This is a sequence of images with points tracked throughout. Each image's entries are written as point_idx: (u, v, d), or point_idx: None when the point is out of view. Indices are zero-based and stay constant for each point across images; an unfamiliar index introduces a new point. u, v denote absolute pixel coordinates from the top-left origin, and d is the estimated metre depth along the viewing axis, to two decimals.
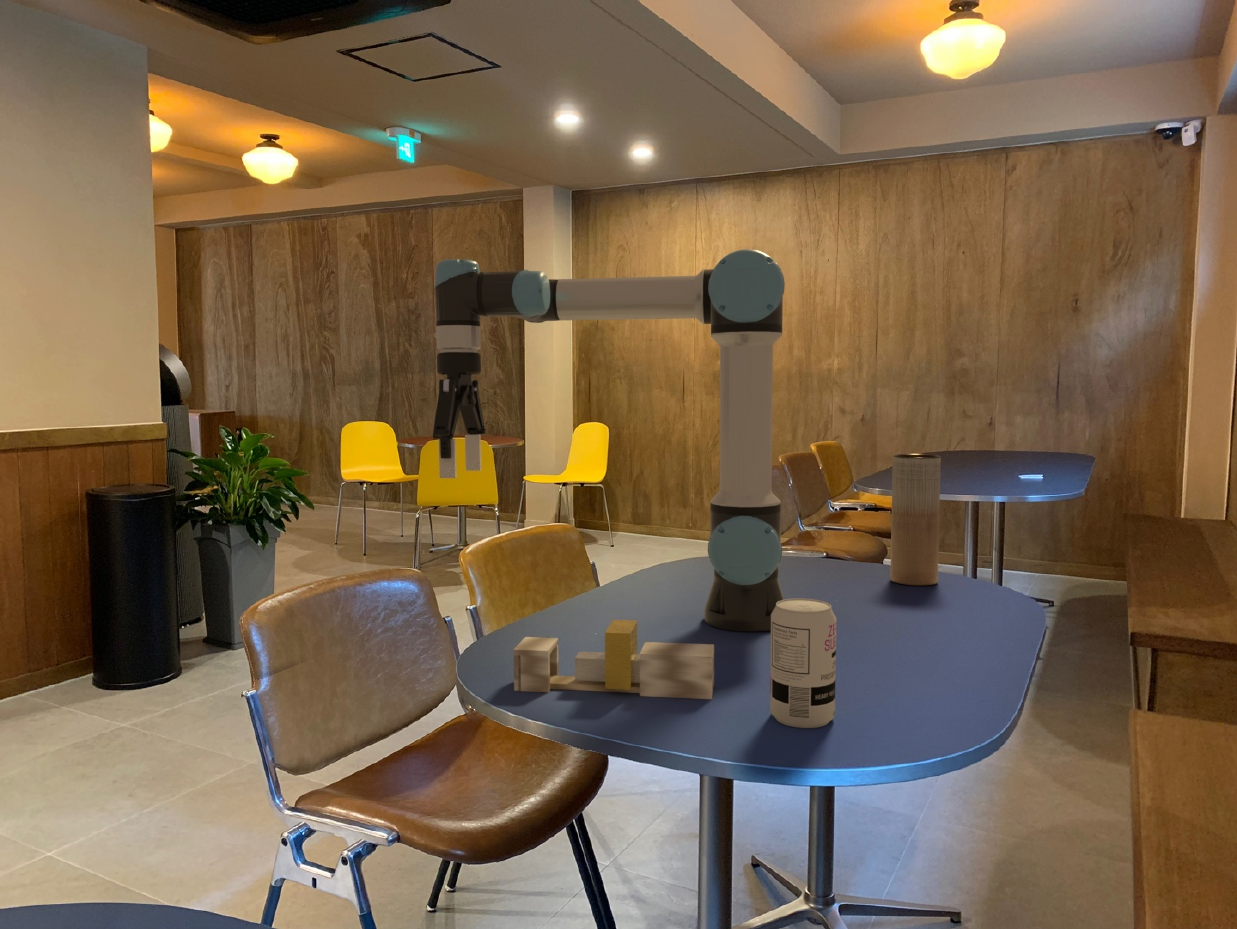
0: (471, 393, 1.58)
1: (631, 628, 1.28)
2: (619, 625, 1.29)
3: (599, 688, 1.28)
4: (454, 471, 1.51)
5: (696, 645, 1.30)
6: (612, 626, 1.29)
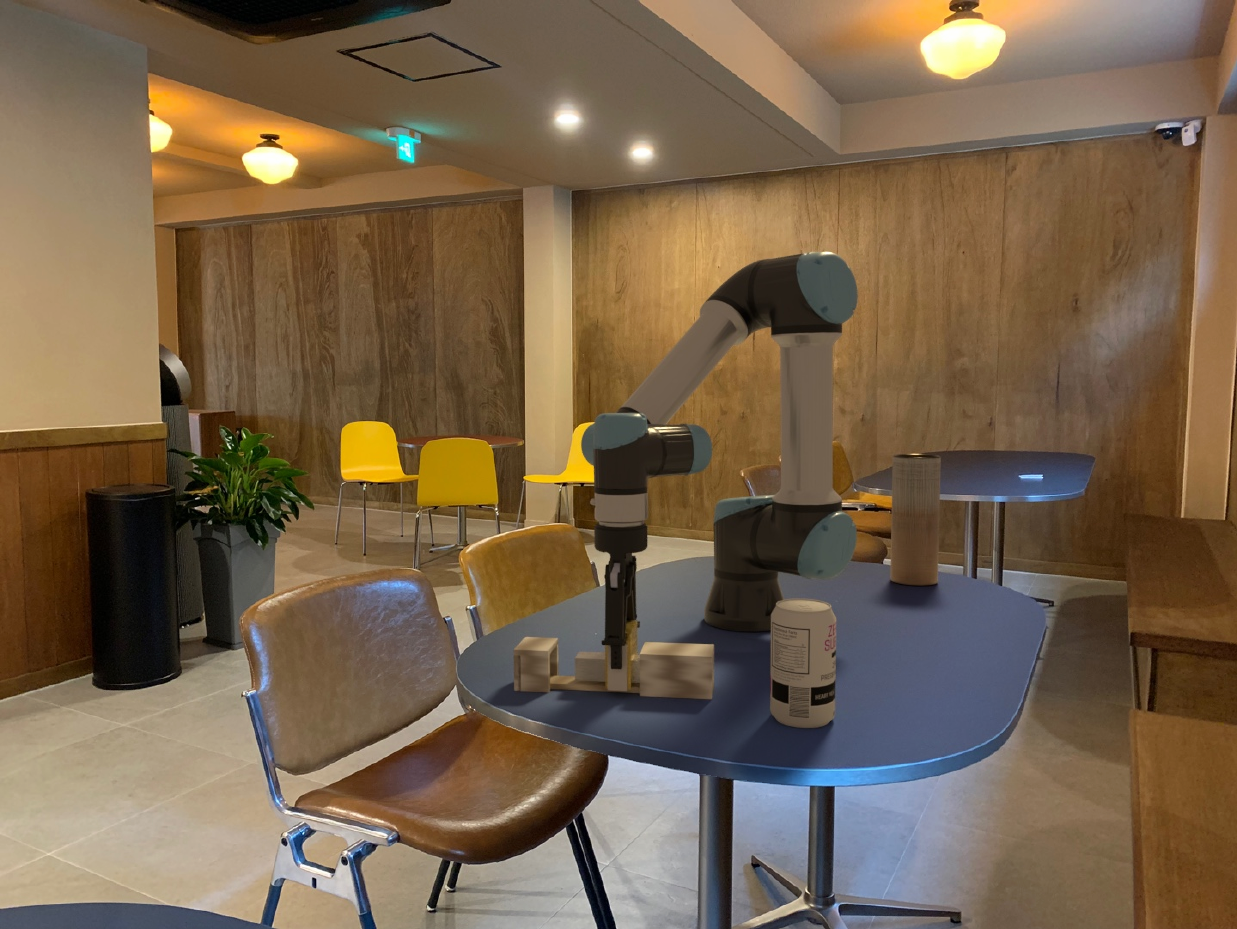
0: (634, 571, 1.29)
1: (631, 628, 1.28)
2: None
3: (599, 688, 1.28)
4: (626, 683, 1.25)
5: (696, 645, 1.30)
6: None
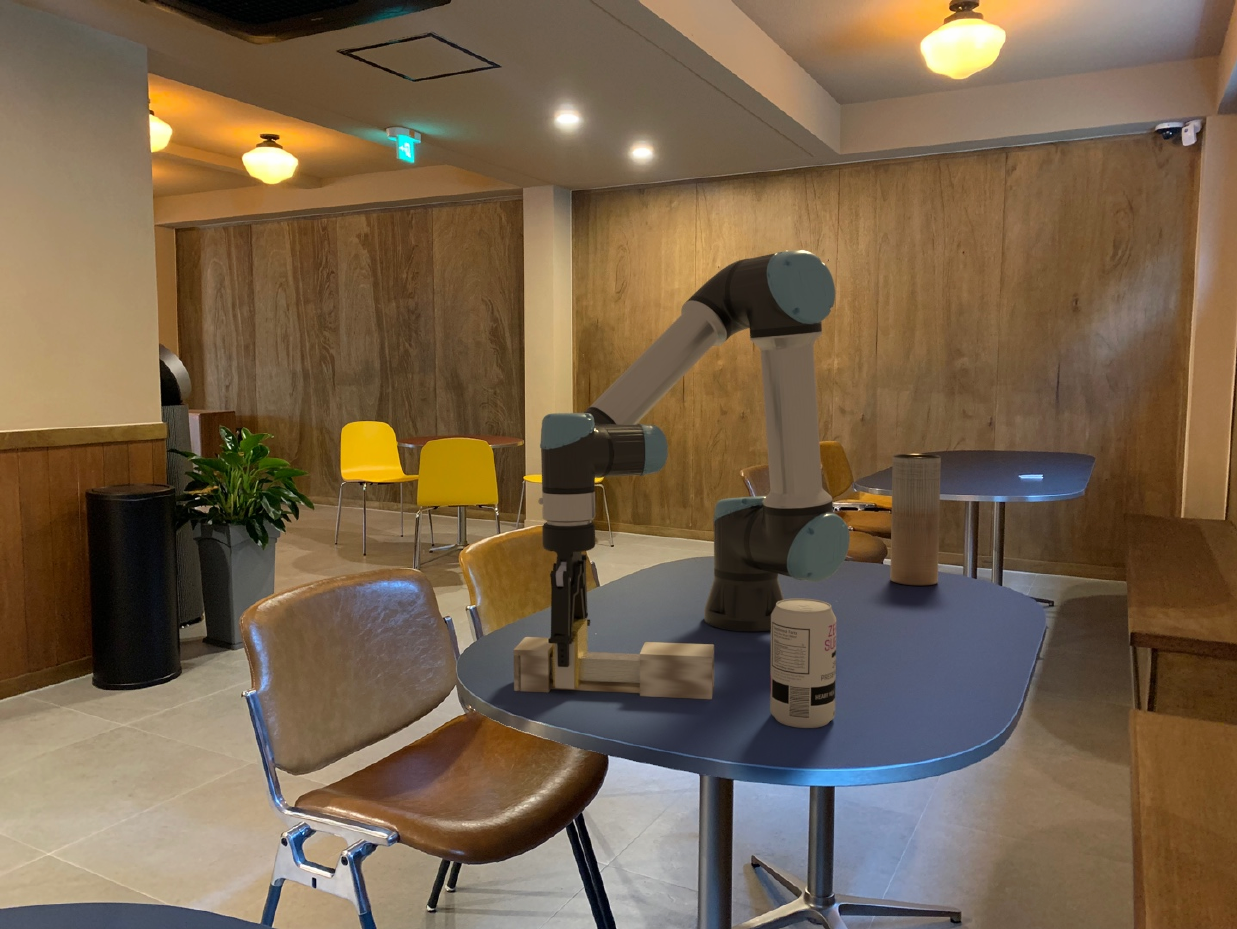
0: (582, 569, 1.30)
1: (579, 626, 1.29)
2: None
3: (599, 688, 1.28)
4: (573, 680, 1.26)
5: (696, 645, 1.30)
6: None
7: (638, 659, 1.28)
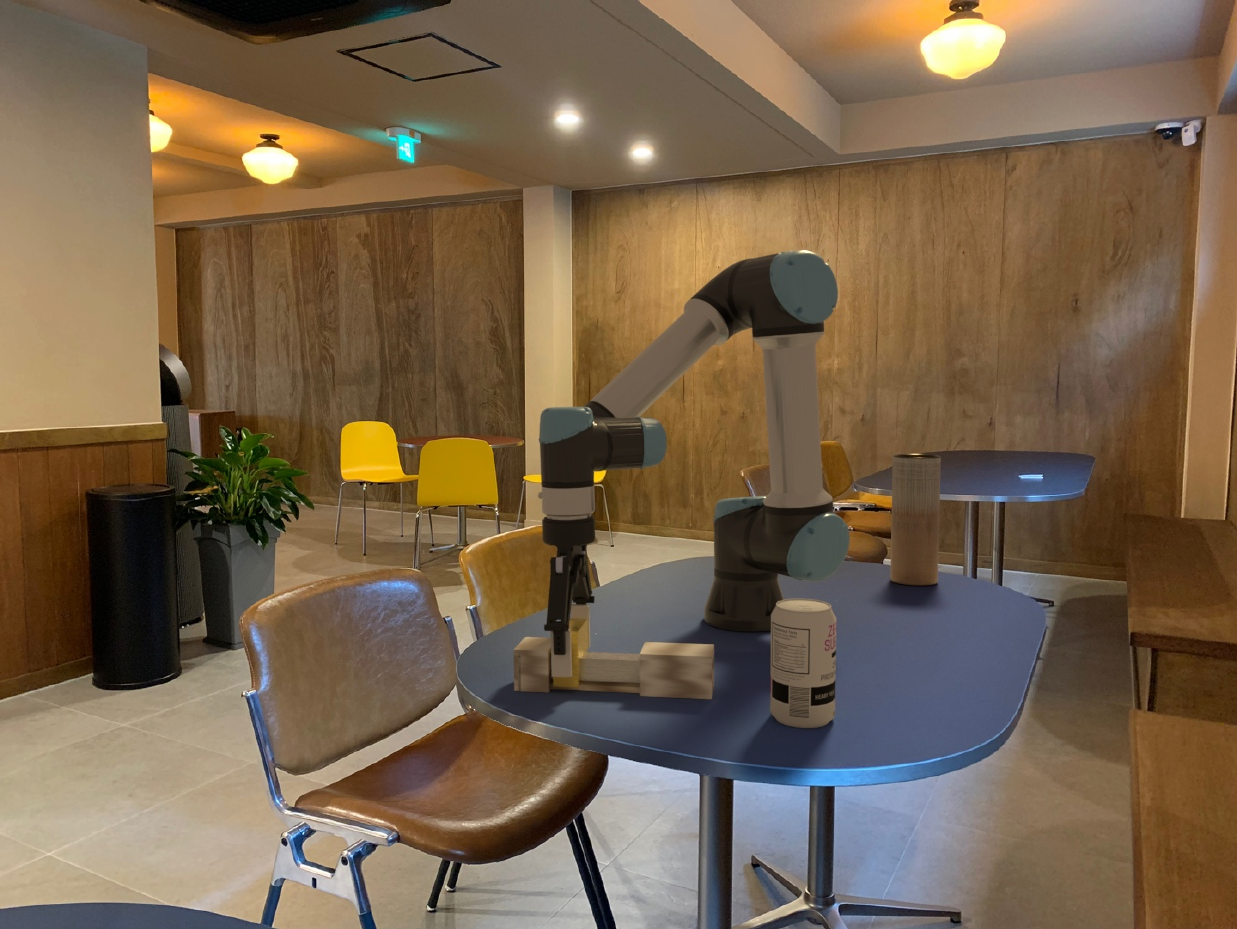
0: (583, 563, 1.30)
1: (579, 626, 1.29)
2: (569, 623, 1.31)
3: (599, 688, 1.28)
4: (570, 669, 1.24)
5: (696, 645, 1.30)
6: None
7: (638, 659, 1.28)
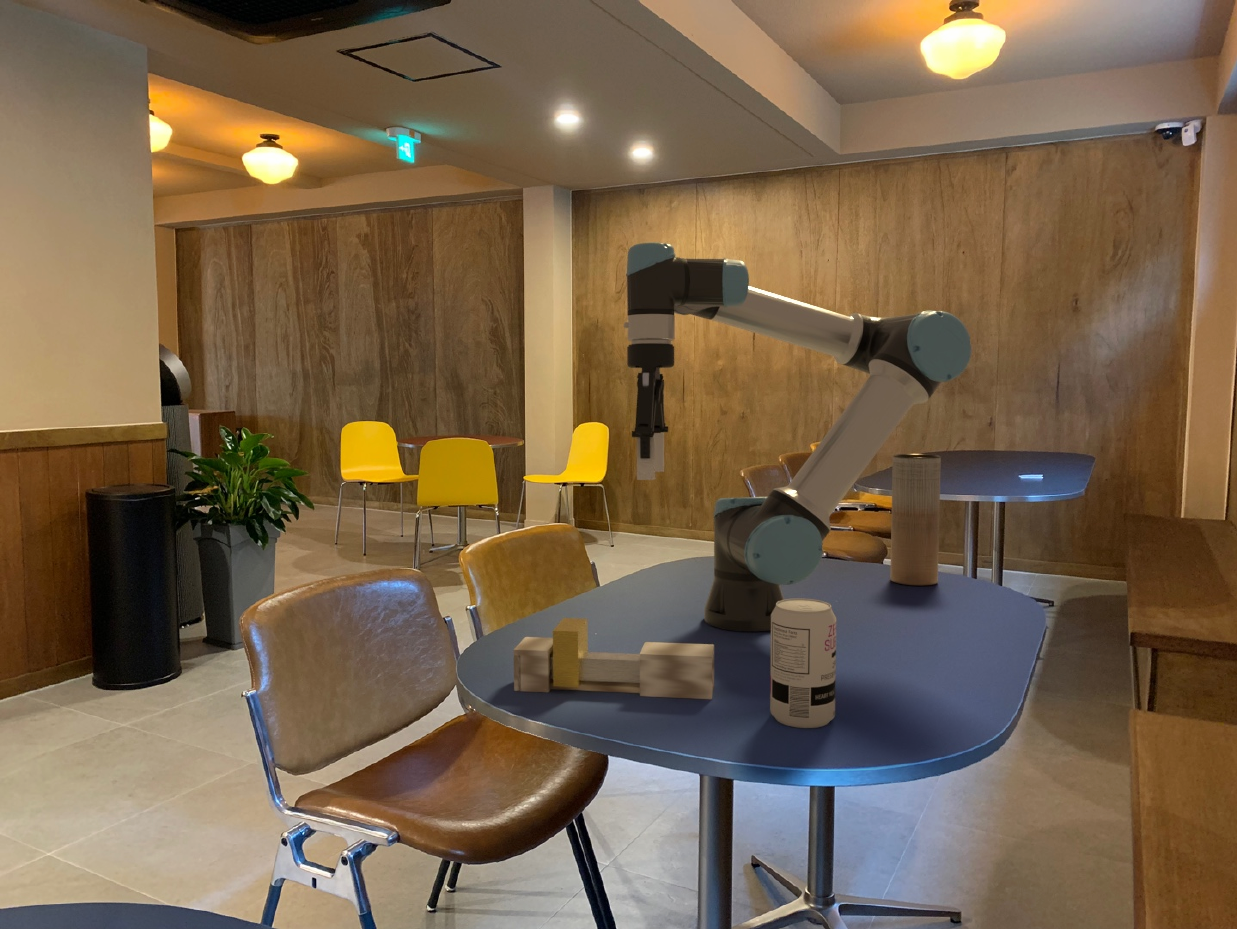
0: (662, 388, 1.46)
1: (579, 626, 1.29)
2: (569, 623, 1.31)
3: (599, 688, 1.28)
4: (653, 472, 1.39)
5: (696, 645, 1.30)
6: (561, 625, 1.30)
7: (638, 659, 1.28)
